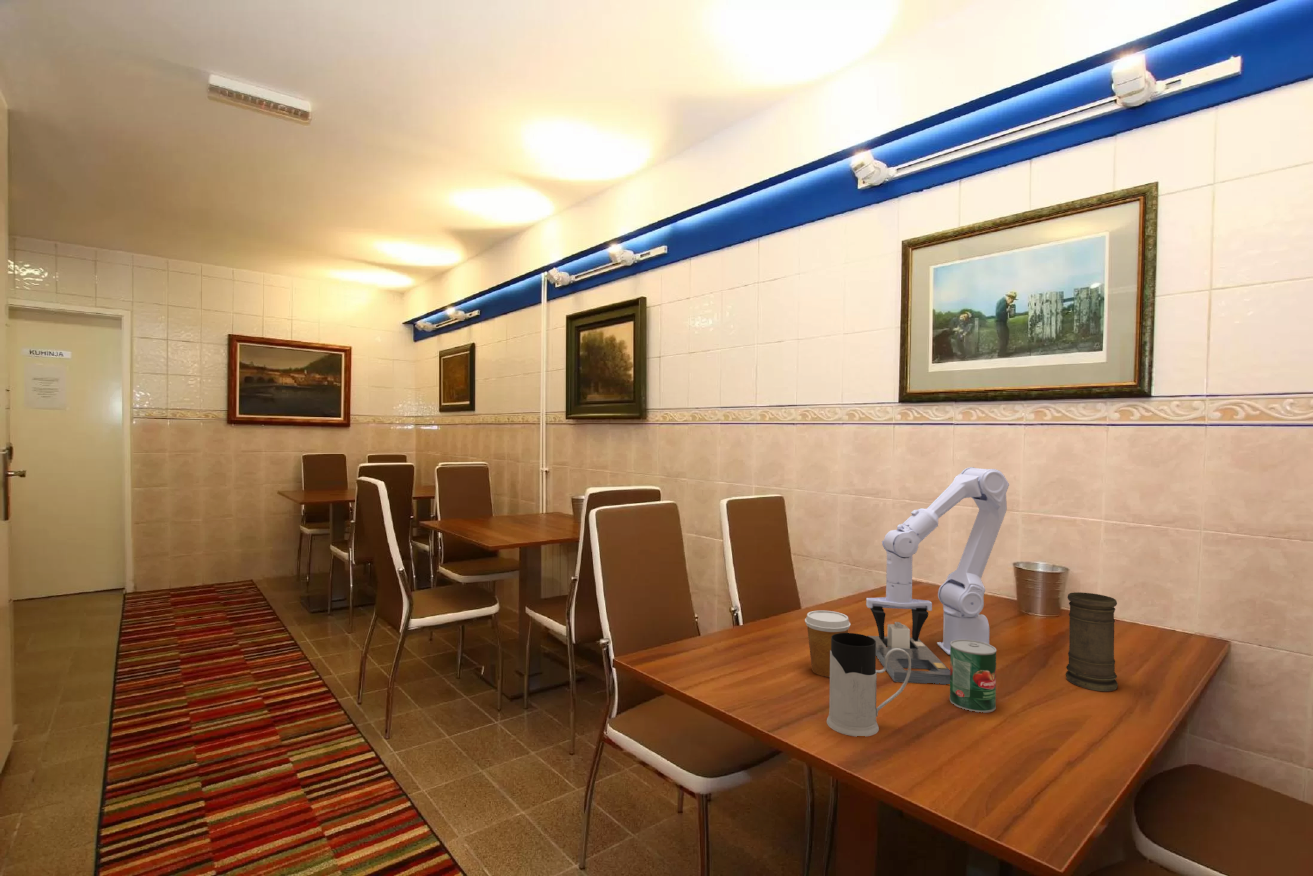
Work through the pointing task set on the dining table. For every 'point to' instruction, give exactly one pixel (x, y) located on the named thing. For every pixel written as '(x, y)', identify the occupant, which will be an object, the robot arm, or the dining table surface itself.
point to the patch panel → (912, 663)
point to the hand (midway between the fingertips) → (898, 639)
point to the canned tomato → (973, 675)
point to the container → (1091, 641)
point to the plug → (898, 636)
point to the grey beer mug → (856, 684)
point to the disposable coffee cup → (823, 637)
